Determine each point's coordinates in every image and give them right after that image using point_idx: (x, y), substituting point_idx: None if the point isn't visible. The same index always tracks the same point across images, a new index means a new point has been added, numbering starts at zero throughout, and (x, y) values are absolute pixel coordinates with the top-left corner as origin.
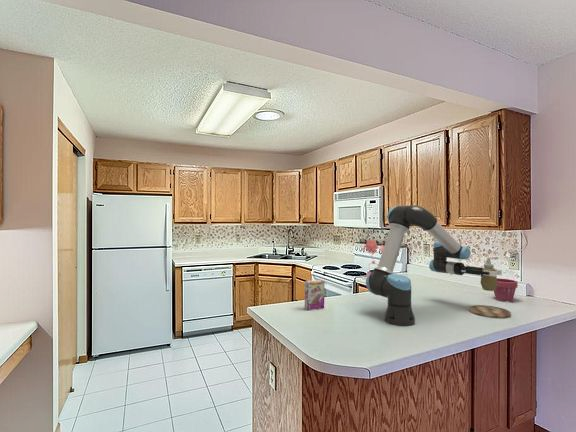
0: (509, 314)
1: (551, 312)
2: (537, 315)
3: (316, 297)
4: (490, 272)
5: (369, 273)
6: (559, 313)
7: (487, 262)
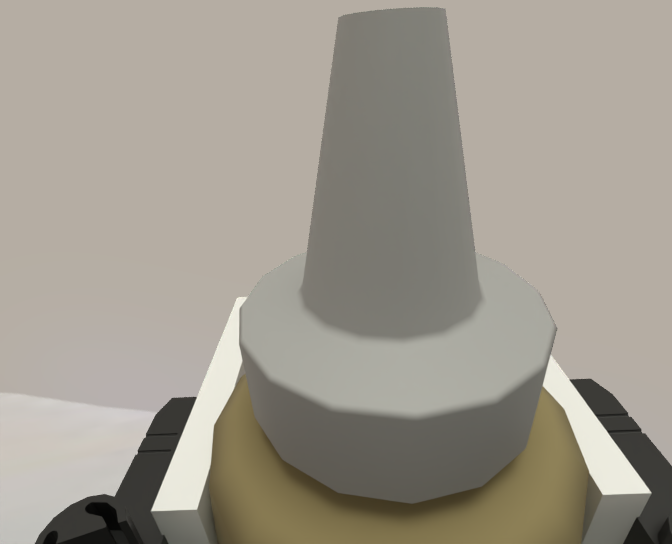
0: None
1: (77, 431)
2: None
3: None
4: None
5: None
6: (85, 406)
7: (466, 221)
